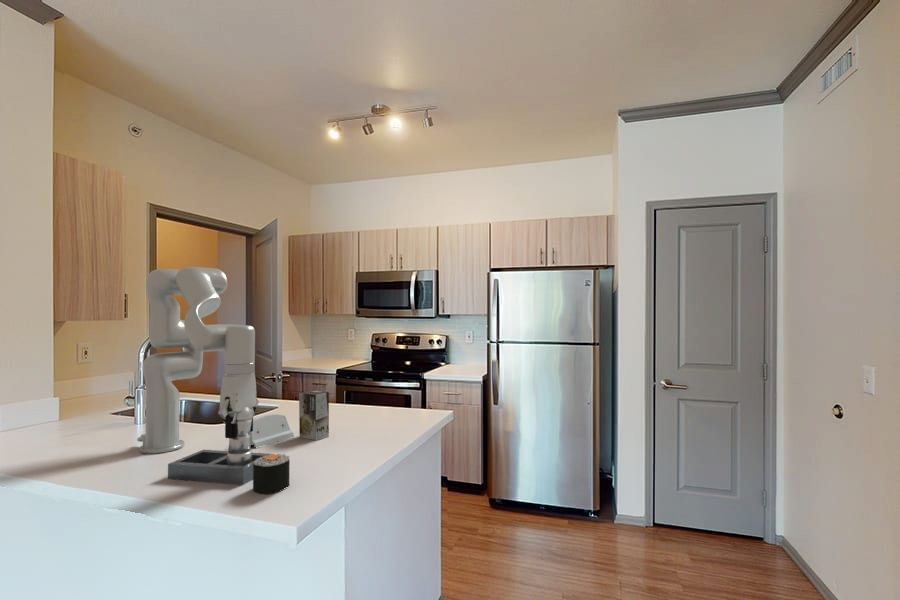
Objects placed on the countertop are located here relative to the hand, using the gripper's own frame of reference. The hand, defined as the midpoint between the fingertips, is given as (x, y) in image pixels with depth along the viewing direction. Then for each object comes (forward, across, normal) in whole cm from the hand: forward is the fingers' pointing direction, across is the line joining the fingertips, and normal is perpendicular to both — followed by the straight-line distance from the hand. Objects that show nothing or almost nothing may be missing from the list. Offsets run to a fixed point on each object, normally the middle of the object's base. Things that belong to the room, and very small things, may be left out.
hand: (239, 434), depth 125 cm
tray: (+11, 0, -5) cm, 12 cm away
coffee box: (+11, -39, +2) cm, 41 cm away
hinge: (+12, -31, -12) cm, 35 cm away
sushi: (+11, +7, +15) cm, 20 cm away
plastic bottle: (+10, 0, 0) cm, 10 cm away
